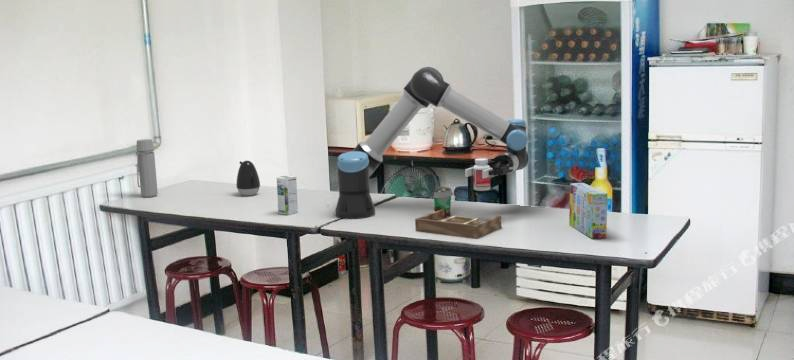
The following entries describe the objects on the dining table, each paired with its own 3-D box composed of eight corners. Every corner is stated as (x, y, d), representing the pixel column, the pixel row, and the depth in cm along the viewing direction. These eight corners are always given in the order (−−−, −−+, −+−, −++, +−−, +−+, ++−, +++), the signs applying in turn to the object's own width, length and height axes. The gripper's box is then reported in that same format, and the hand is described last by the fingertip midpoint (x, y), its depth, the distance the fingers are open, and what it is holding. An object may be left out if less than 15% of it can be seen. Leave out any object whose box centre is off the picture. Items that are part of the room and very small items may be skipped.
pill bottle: (494, 189, 305) (493, 159, 303) (481, 191, 301) (480, 161, 299) (482, 187, 310) (482, 157, 308) (469, 189, 306) (469, 159, 304)
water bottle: (150, 194, 381) (145, 138, 377) (162, 195, 376) (157, 139, 372) (133, 197, 374) (128, 141, 369) (145, 199, 369) (139, 142, 365)
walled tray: (441, 220, 309) (441, 209, 308) (501, 227, 295) (501, 215, 294) (415, 230, 295) (415, 218, 294) (476, 238, 281) (476, 226, 280)
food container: (450, 219, 310) (450, 192, 308) (434, 219, 311) (433, 192, 309) (455, 212, 322) (454, 186, 320) (439, 212, 323) (438, 186, 321)
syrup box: (277, 213, 330) (275, 177, 328) (289, 211, 334) (287, 174, 332) (287, 215, 326) (284, 178, 324) (298, 212, 331) (296, 176, 328)
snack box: (608, 238, 275) (608, 192, 273) (591, 239, 274) (591, 194, 272) (583, 224, 296) (583, 181, 293) (568, 225, 295) (568, 182, 292)
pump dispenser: (252, 191, 378) (249, 157, 375) (265, 194, 370) (263, 160, 368) (232, 195, 371) (229, 161, 368) (245, 198, 363) (242, 163, 361)
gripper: (528, 175, 314) (498, 186, 295) (482, 172, 325) (451, 182, 306) (527, 155, 313) (498, 165, 294) (482, 152, 323) (451, 161, 305)
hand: (474, 173), depth 300 cm, fingers closed on pill bottle, 6 cm apart
